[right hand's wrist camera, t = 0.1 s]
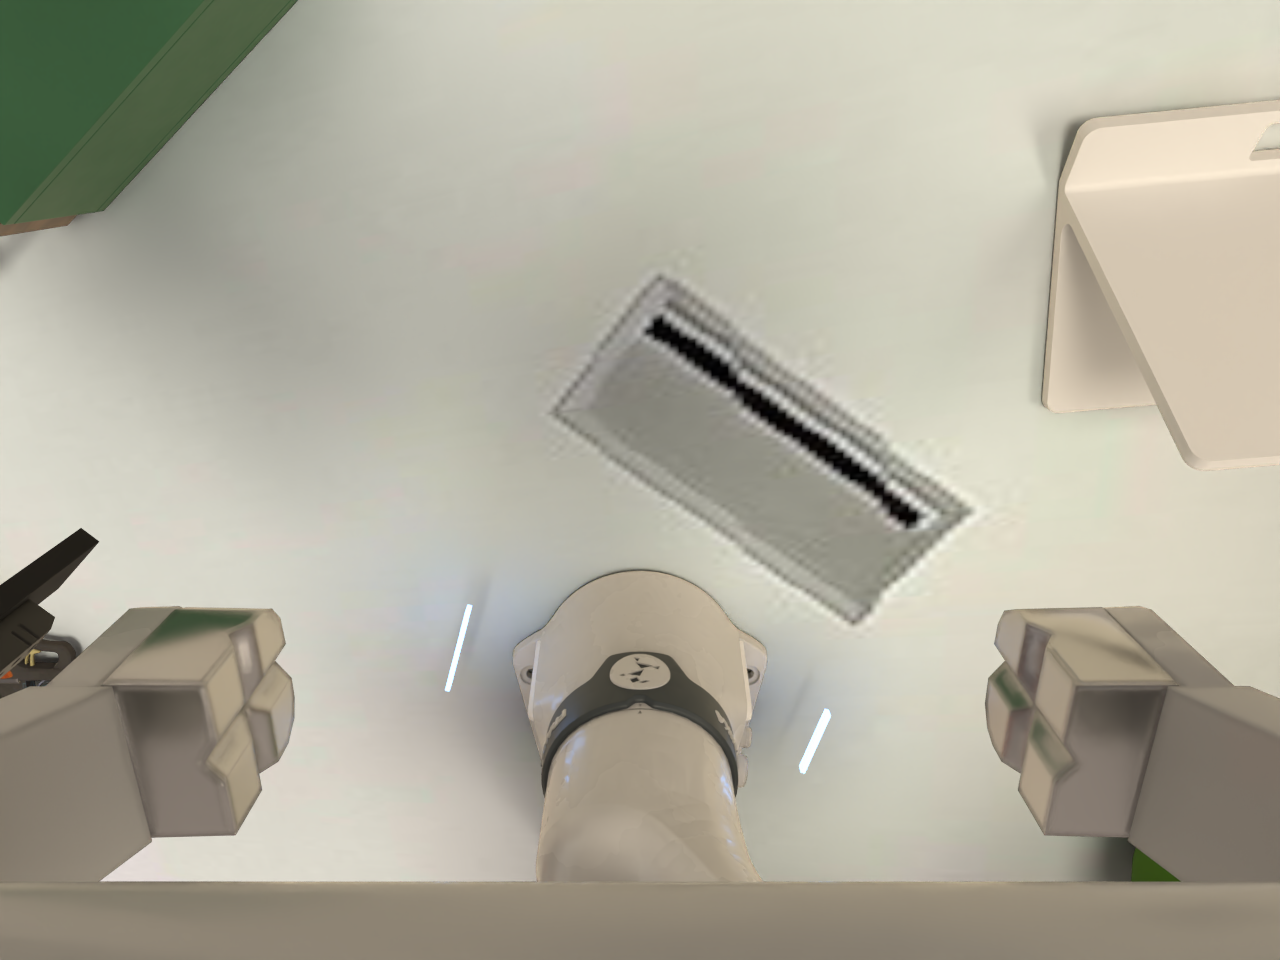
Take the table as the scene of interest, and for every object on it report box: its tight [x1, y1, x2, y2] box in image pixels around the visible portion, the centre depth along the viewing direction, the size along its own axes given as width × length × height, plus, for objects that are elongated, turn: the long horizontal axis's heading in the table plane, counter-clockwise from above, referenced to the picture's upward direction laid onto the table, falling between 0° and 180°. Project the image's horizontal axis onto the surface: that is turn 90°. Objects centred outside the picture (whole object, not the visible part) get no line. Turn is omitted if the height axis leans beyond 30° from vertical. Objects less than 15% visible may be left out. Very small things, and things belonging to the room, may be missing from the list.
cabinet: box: [0, 0, 297, 225], centre depth 46 cm, size 22×10×9 cm, turn 130°
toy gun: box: [0, 639, 76, 697], centre depth 65 cm, size 3×19×10 cm
